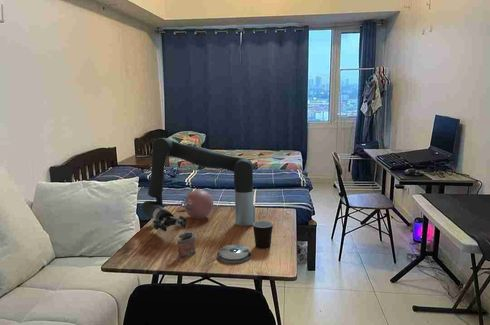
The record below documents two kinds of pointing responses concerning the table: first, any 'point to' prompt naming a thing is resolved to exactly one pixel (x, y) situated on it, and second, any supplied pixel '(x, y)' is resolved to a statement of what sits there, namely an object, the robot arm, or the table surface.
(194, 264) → the table surface
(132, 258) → the table surface
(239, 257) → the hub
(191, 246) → the lighter
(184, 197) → the gear
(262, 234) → the coffee mug
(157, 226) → the robot arm
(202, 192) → the balloon
